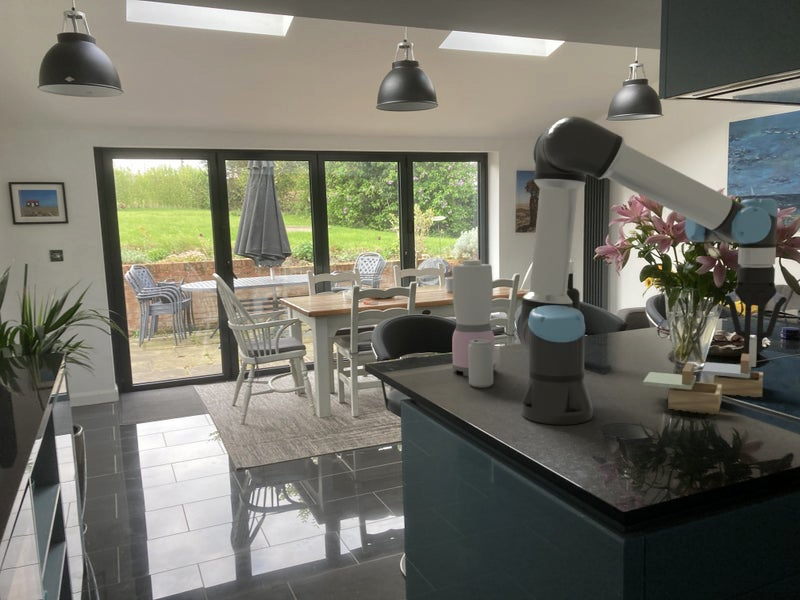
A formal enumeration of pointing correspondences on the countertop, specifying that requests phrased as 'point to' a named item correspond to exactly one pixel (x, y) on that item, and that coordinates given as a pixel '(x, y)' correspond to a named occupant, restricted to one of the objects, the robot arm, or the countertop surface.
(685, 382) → the lid near
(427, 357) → the countertop surface
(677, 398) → the box near
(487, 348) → the beverage can
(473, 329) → the blender
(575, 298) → the wine bottle
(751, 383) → the box far
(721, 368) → the lid far
